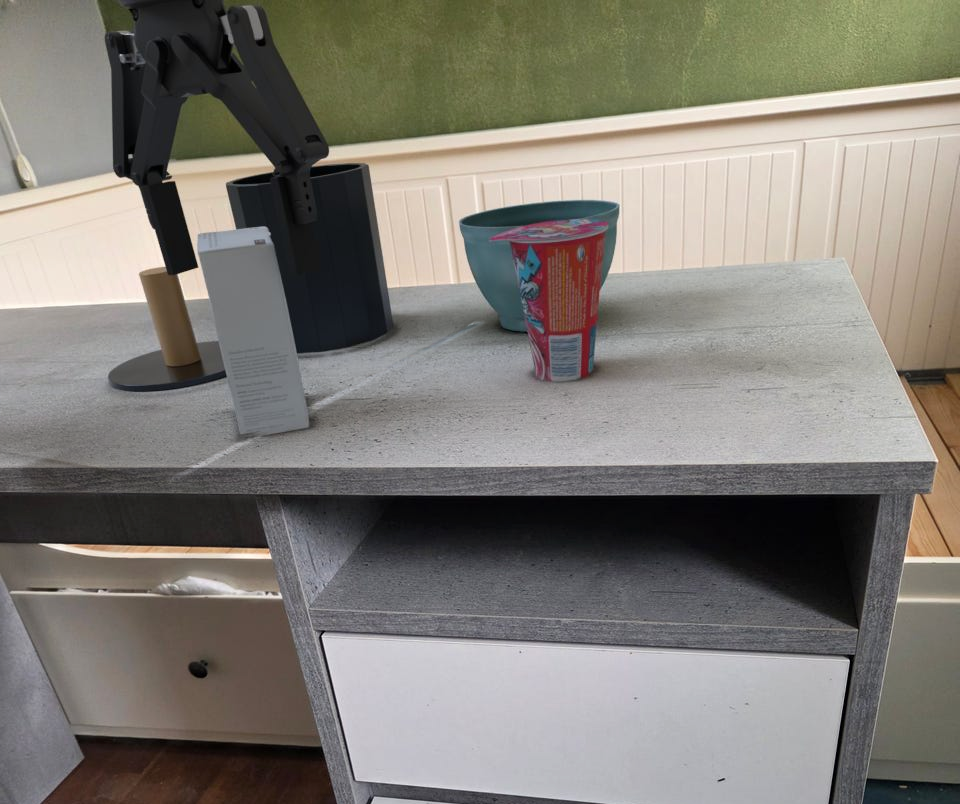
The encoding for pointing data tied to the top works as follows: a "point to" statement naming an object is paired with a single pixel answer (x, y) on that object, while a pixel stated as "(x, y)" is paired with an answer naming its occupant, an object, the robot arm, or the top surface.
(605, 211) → the flower pot
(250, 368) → the cosmetic box
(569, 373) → the cup
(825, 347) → the top surface
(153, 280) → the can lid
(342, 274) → the trash can
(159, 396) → the top surface
